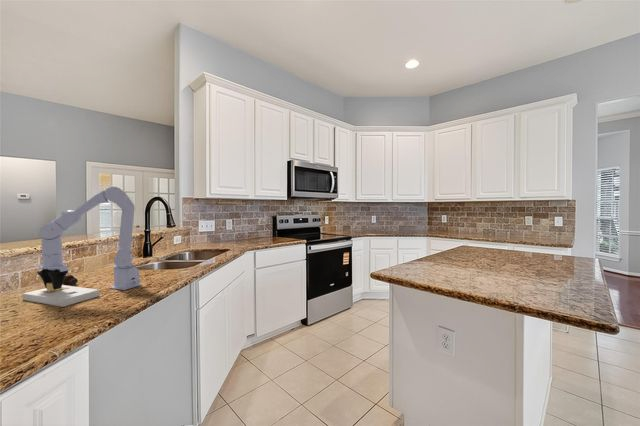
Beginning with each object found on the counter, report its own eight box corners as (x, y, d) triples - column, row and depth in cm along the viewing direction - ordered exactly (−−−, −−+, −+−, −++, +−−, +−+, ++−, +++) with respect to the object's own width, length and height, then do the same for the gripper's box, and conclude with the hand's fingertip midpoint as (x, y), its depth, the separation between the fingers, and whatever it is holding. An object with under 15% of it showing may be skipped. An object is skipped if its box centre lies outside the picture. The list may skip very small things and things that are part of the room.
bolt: (72, 290, 122) (53, 285, 128) (83, 282, 126) (64, 278, 132) (63, 280, 119) (45, 276, 125) (75, 272, 123) (57, 269, 129)
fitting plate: (99, 295, 108) (99, 289, 107) (62, 306, 96) (62, 299, 96) (61, 290, 115) (60, 284, 115) (22, 299, 104) (22, 292, 104)
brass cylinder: (63, 295, 109) (62, 281, 109) (51, 299, 105) (50, 283, 105) (57, 295, 110) (56, 280, 110) (44, 298, 106) (43, 283, 106)
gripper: (27, 255, 105) (28, 289, 106) (51, 256, 101) (52, 292, 101) (50, 252, 112) (51, 284, 112) (73, 253, 107) (74, 287, 108)
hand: (53, 288), depth 107 cm, fingers open, 4 cm apart
